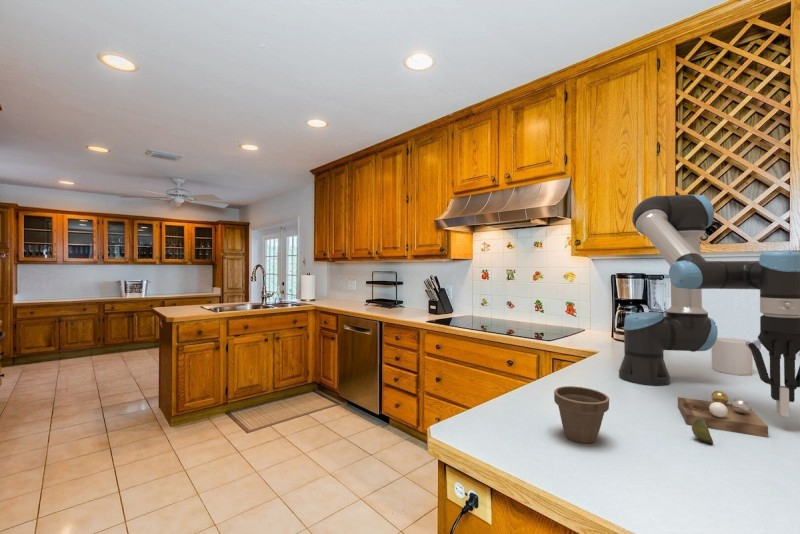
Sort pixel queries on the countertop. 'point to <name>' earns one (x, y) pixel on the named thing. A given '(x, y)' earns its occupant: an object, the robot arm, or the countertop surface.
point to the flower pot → (581, 412)
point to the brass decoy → (720, 397)
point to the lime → (701, 430)
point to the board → (722, 418)
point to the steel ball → (741, 406)
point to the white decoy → (718, 409)
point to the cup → (732, 357)
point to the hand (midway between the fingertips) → (782, 414)
